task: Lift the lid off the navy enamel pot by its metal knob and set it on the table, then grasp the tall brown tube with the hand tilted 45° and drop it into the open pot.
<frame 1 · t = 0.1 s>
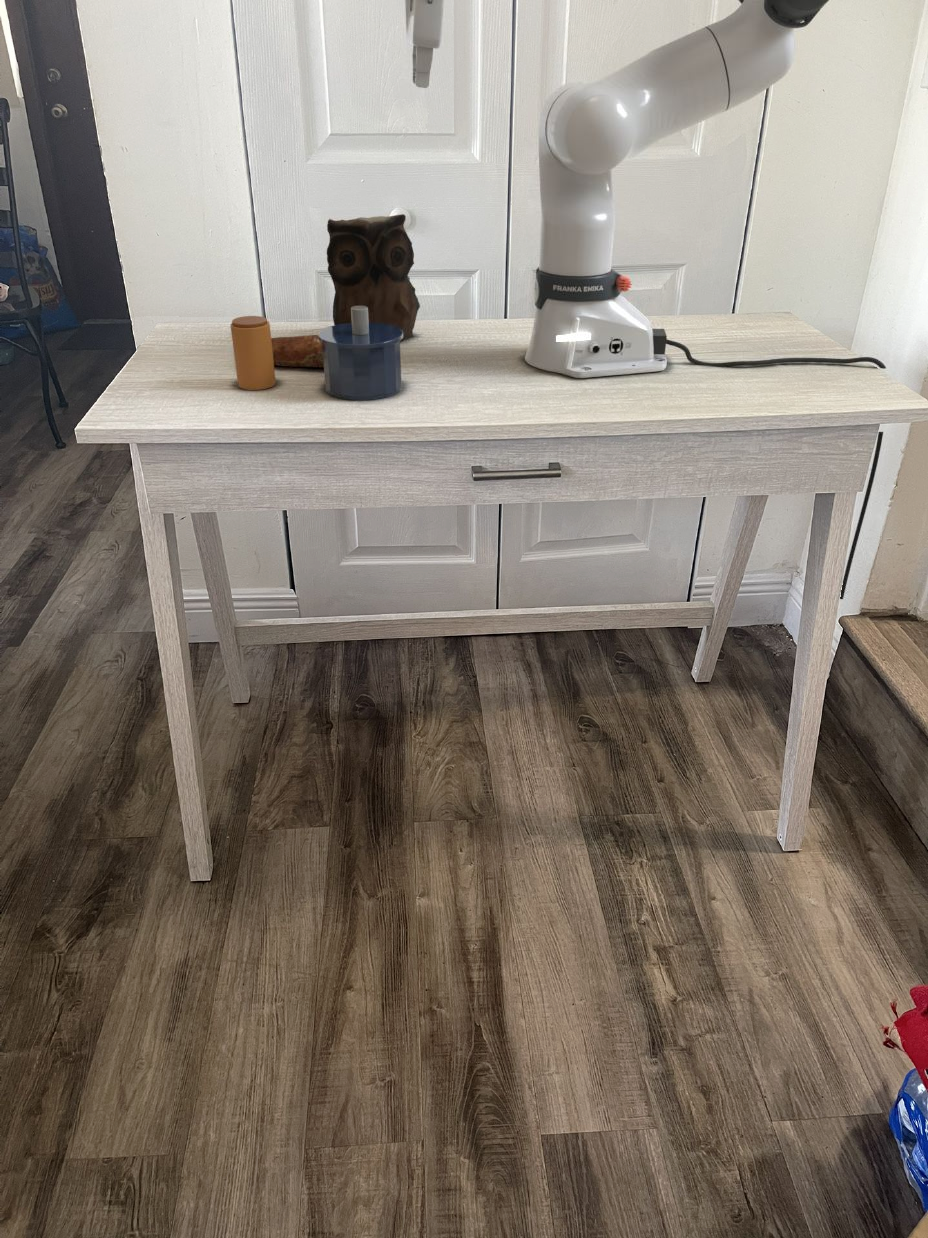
hand: (419, 85, 130), 39 cm above the table, tool pointing down, fingers open, 8 cm apart
pot lid: (361, 337, 136), point 7 cm above the table, touching pot
bread: (306, 368, 149), on the table
tall brown tube: (257, 384, 142), on the table
owl: (375, 336, 165), on the table
pot: (363, 387, 140), on the table
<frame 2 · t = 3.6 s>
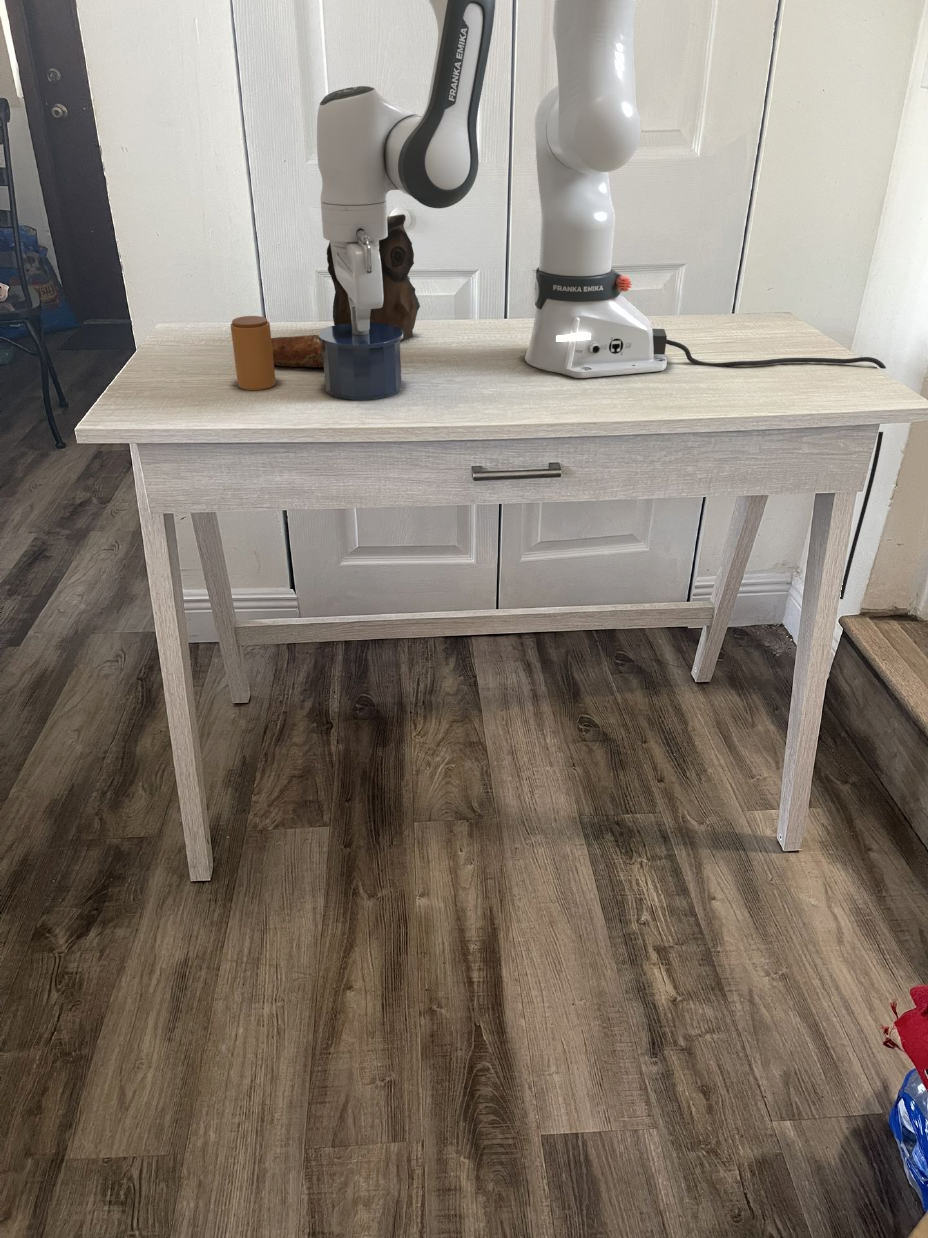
hand: (360, 326, 136), 9 cm above the table, tool pointing down, fingers closed on pot lid, 2 cm apart
pot lid: (361, 337, 136), point 7 cm above the table, touching gripper, pot
everything else where it was.
when the fingers open (2 cm above the table, at t = 10.4 s): pot lid stays where it is, point 1 cm above the table.
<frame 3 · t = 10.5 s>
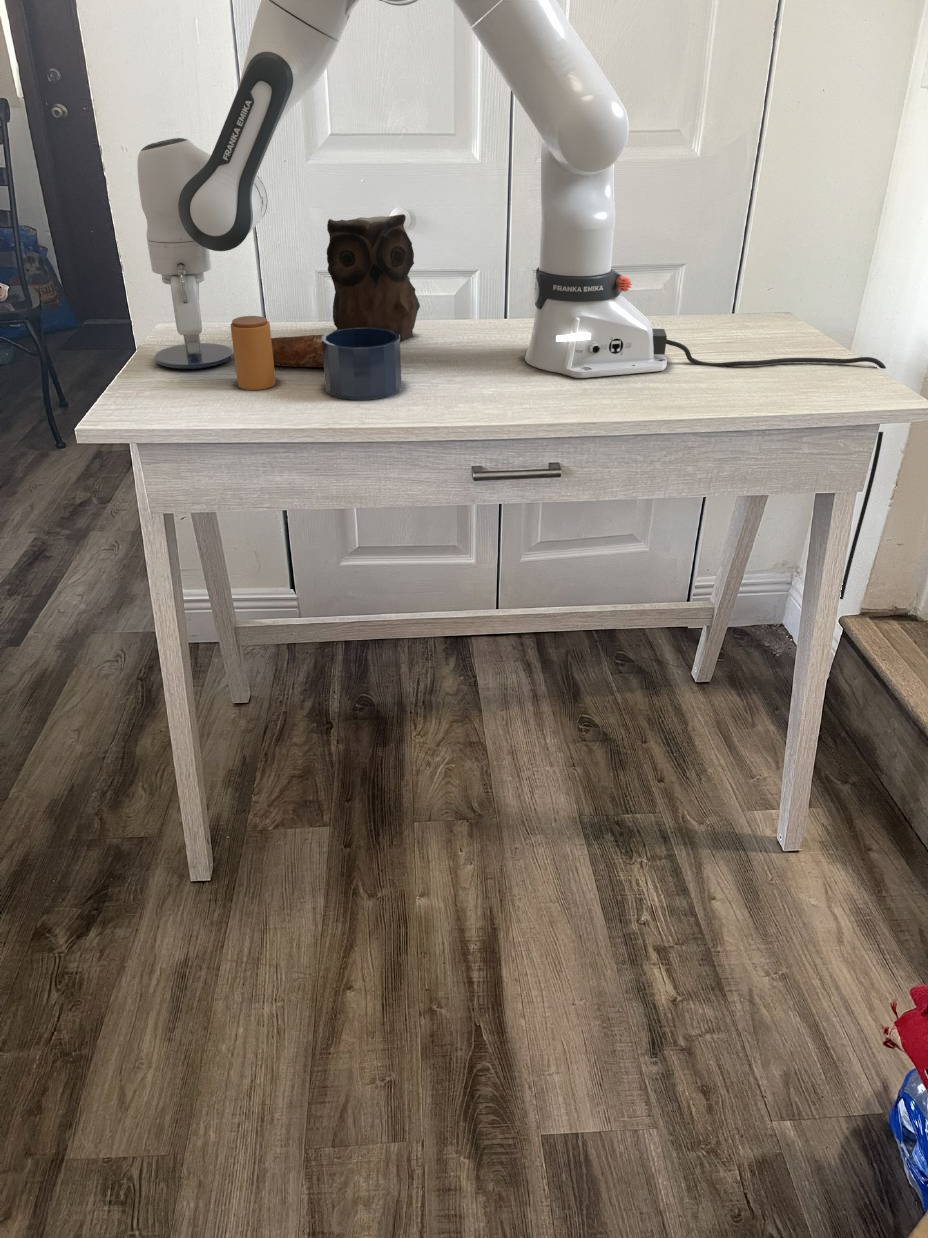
hand: (193, 348, 151), 2 cm above the table, tool pointing down
pot lid: (194, 357, 152), point 1 cm above the table
everything else where it was.
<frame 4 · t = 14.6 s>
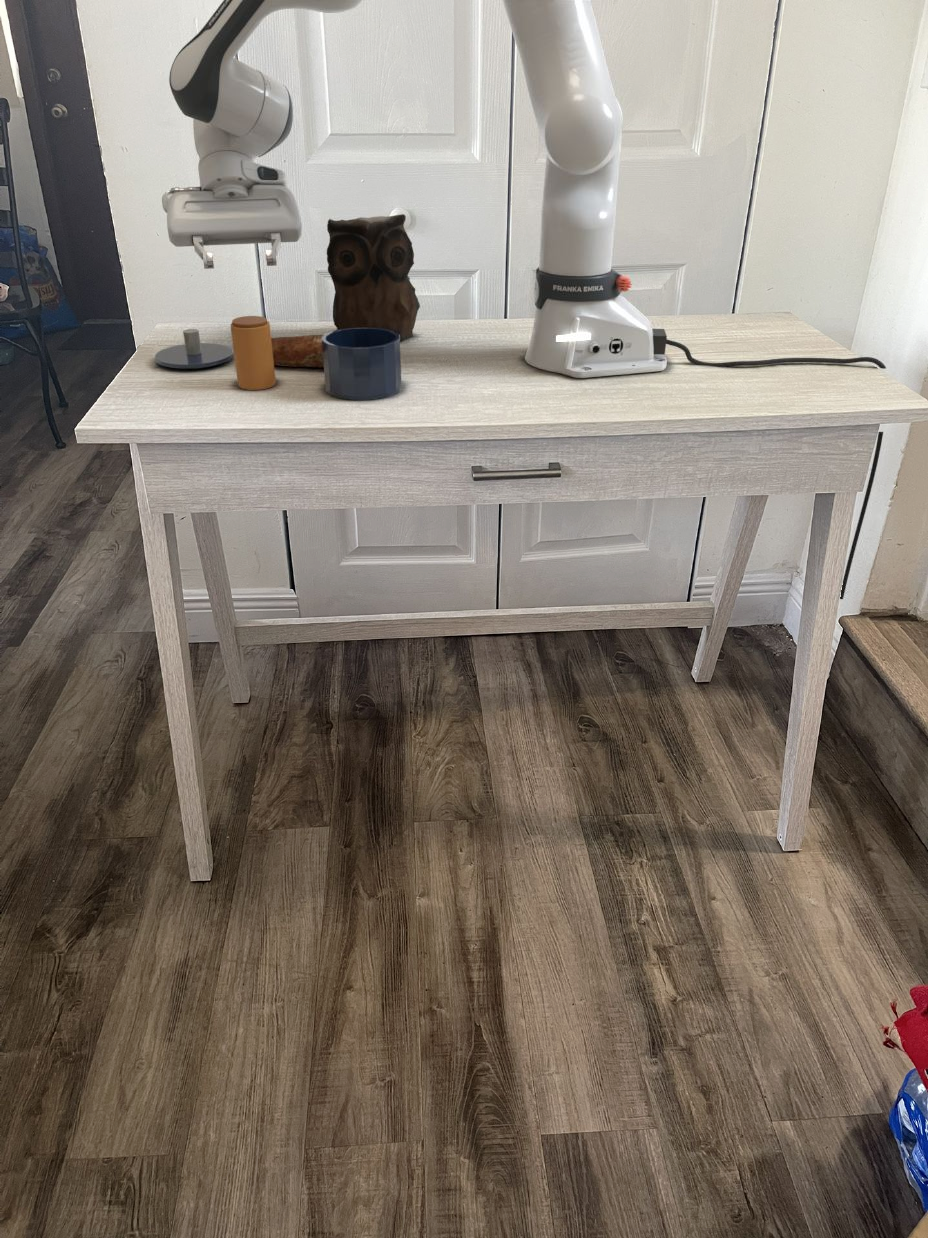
hand: (240, 264, 144), 15 cm above the table, tool tilted 45°, fingers open, 8 cm apart
nothing on the table moved.
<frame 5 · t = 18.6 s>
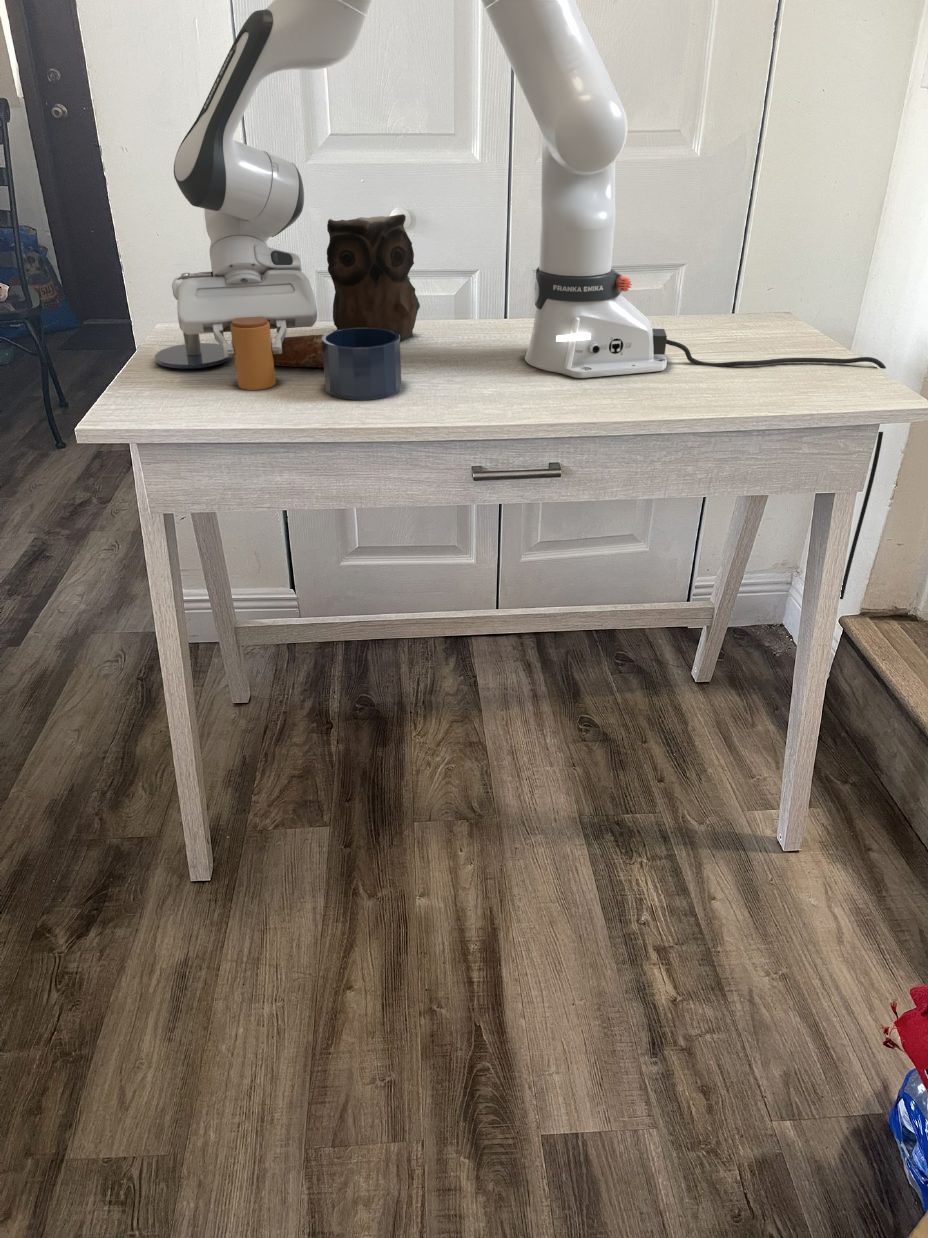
hand: (253, 353, 139), 5 cm above the table, tool tilted 45°, fingers closed on tall brown tube, 5 cm apart
tall brown tube: (256, 384, 142), on the table, touching gripper
everything else where it was.
when the fingers open (10 cm above the table, at t = 25.9 s): tall brown tube drops 4 cm, resting on pot.
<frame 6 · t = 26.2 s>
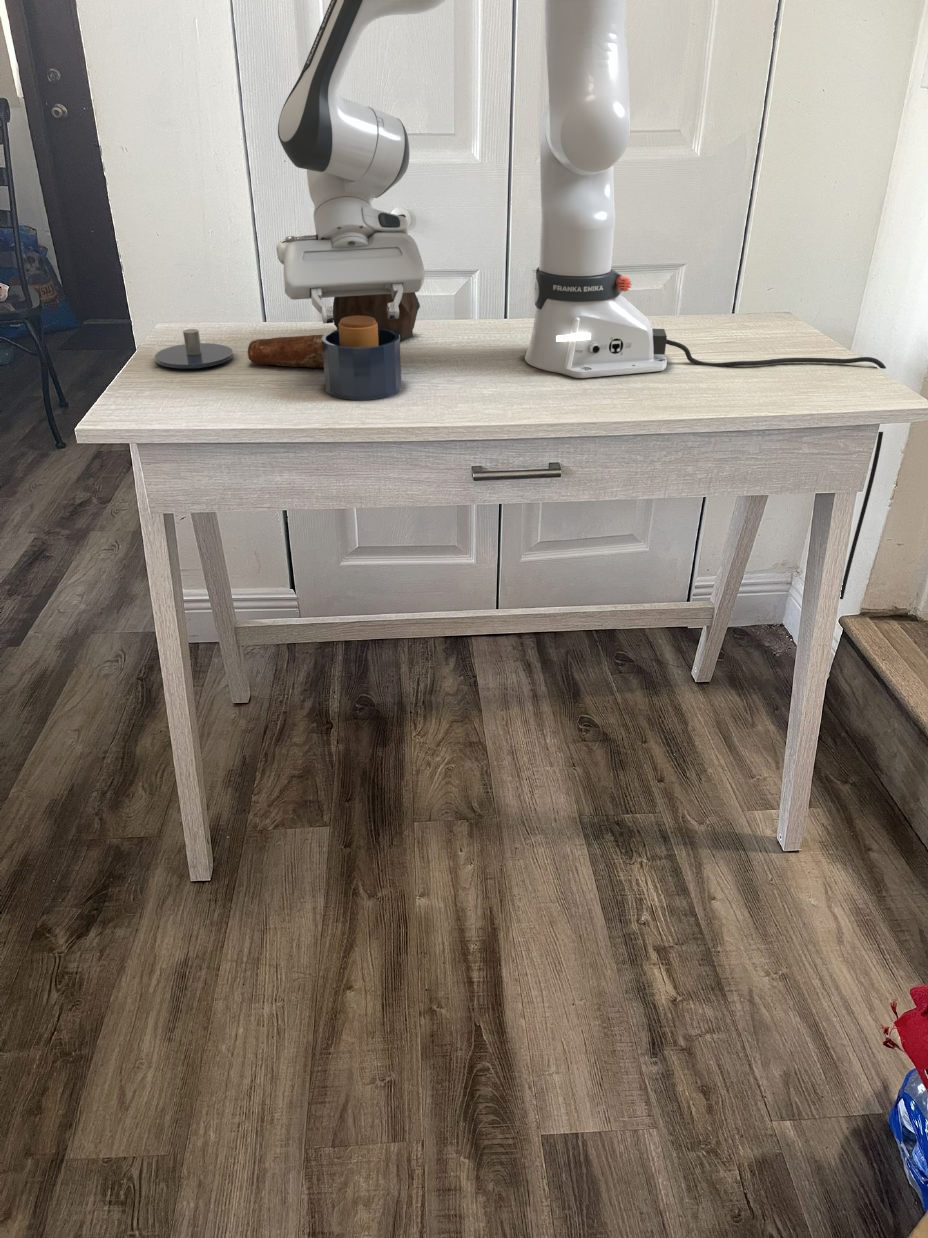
hand: (361, 318, 135), 10 cm above the table, tool tilted 45°, fingers open, 8 cm apart
tall brown tube: (361, 384, 140), point 1 cm above the table, touching pot
everything else where it was.
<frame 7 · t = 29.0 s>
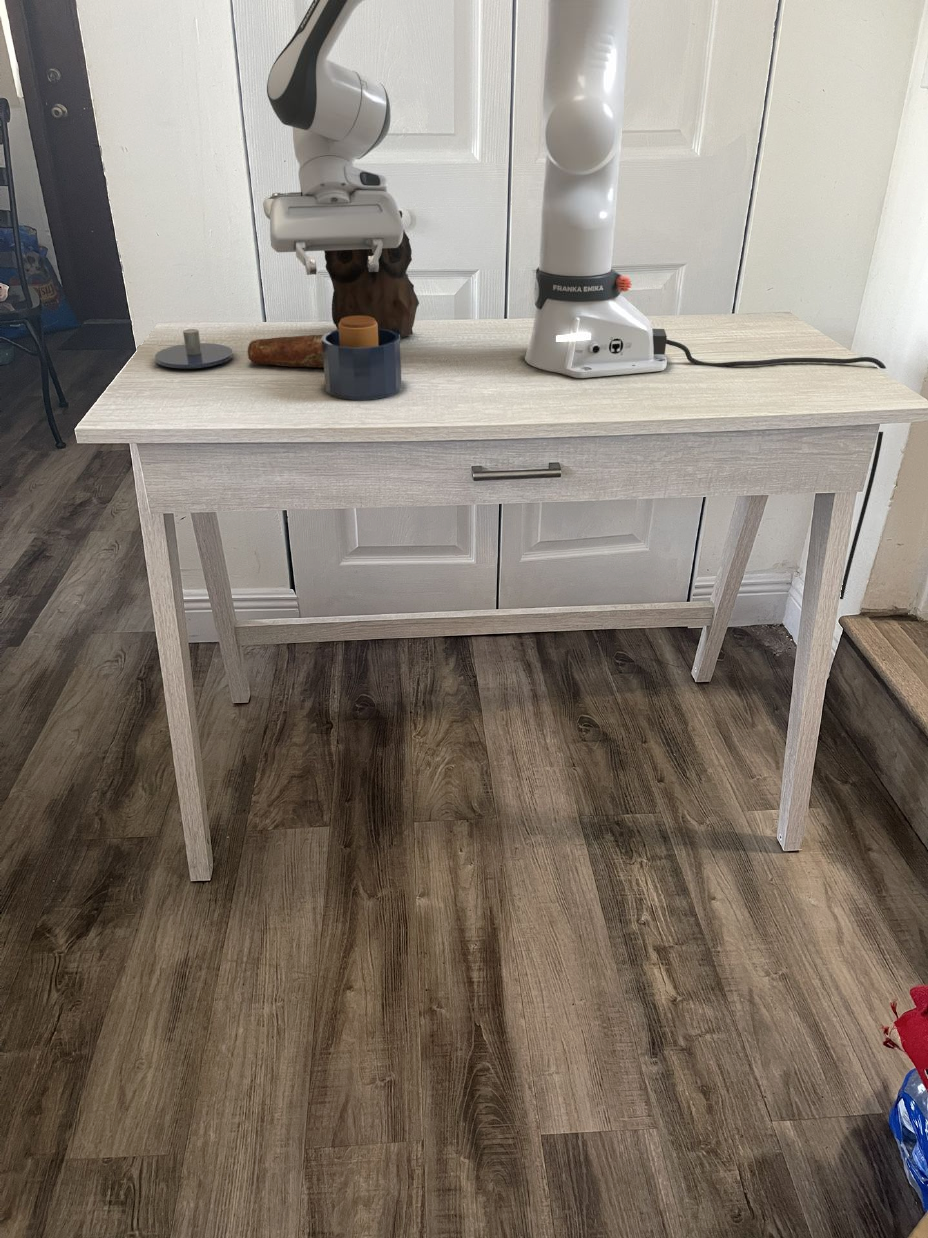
hand: (343, 270, 142), 14 cm above the table, tool tilted 45°, fingers open, 8 cm apart
owl: (374, 335, 165), on the table, touching arm
everything else where it was.
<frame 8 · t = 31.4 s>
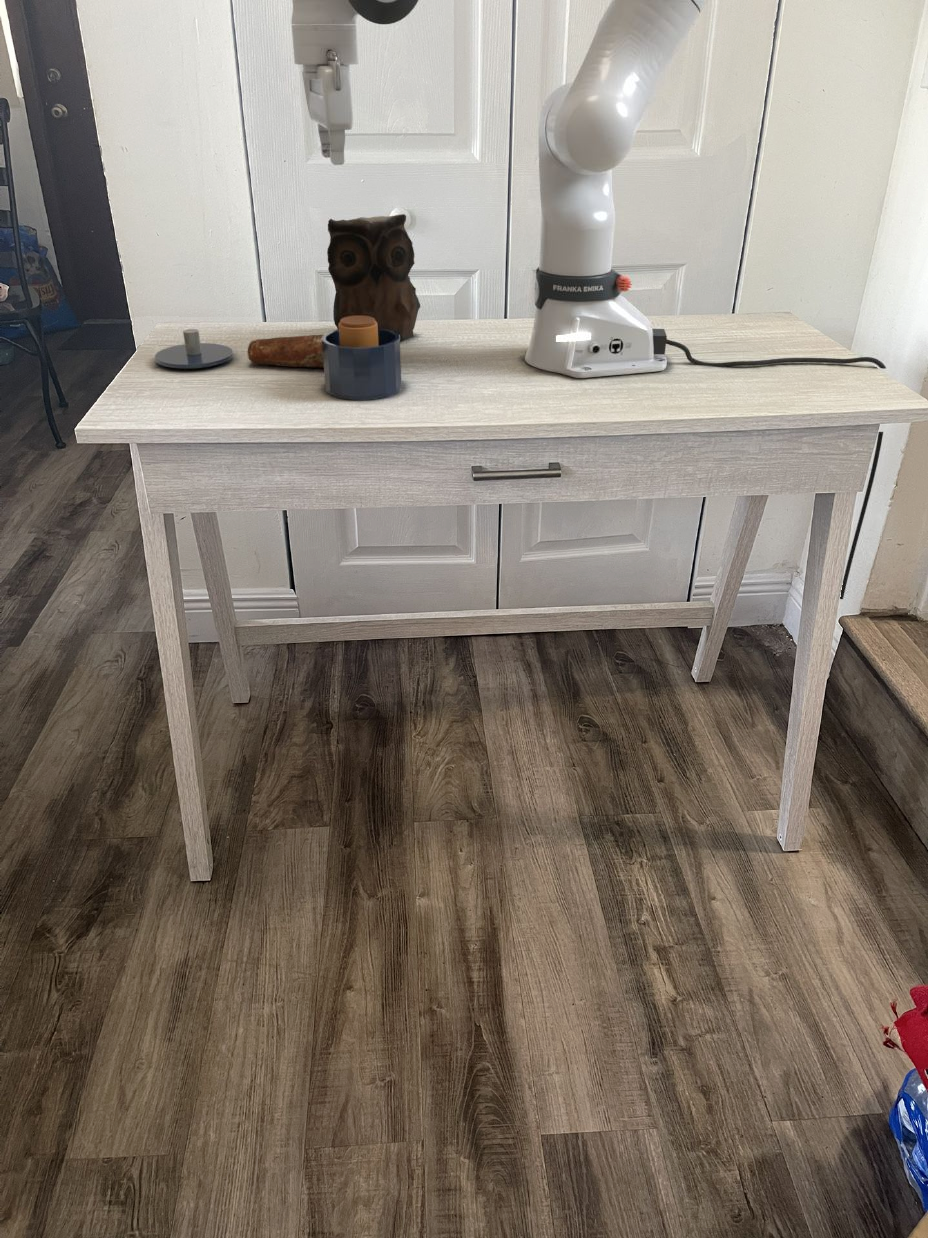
hand: (332, 160, 138), 29 cm above the table, tool pointing down, fingers open, 8 cm apart
owl: (375, 336, 165), on the table
everything else where it was.
at the end: pot lid inside the target area (0.1 cm from its centre), point 0.6 cm above the table; tall brown tube inside the target area in the pot (0.3 cm from its centre), point 0.5 cm above the pot's base; tall brown tube touching pot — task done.
